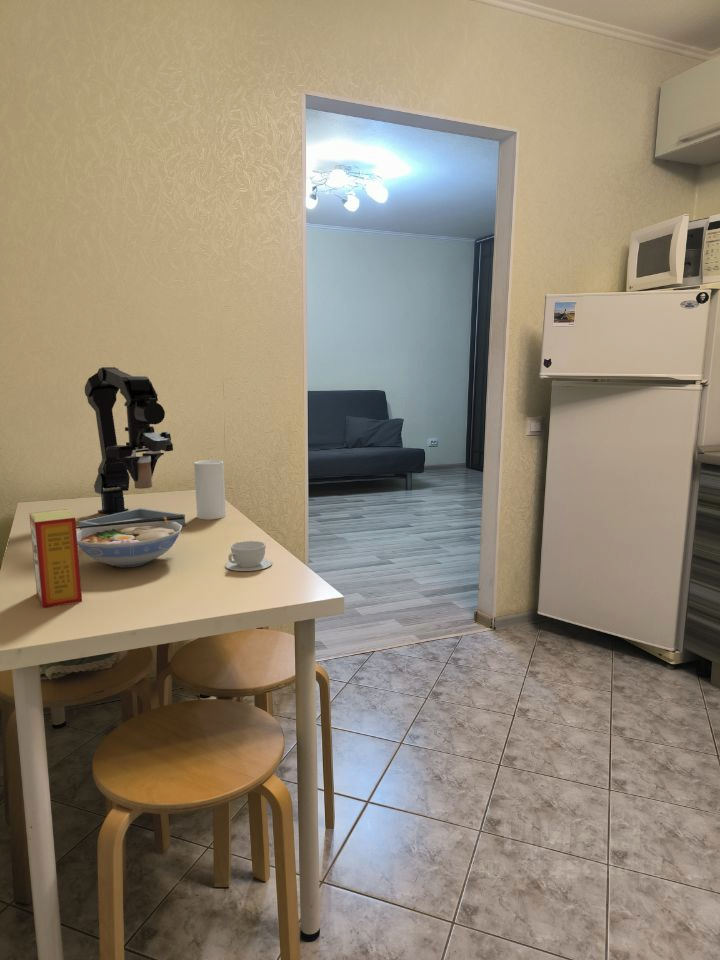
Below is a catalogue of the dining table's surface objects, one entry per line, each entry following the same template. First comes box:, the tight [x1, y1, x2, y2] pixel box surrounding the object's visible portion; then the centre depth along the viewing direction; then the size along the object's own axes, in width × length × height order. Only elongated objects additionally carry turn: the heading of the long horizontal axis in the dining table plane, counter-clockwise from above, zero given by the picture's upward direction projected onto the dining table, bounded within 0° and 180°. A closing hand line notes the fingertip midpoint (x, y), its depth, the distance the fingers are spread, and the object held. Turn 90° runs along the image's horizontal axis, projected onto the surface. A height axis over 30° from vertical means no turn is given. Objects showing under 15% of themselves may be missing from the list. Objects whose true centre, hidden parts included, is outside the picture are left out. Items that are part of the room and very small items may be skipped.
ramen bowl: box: [76, 515, 184, 568], centre depth 144 cm, size 25×23×8 cm
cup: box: [193, 459, 227, 520], centre depth 190 cm, size 8×8×16 cm
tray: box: [78, 507, 186, 530], centre depth 176 cm, size 18×20×3 cm
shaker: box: [133, 455, 153, 490], centre depth 180 cm, size 5×5×8 cm
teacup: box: [224, 540, 273, 572], centre depth 141 cm, size 10×10×5 cm
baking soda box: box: [28, 509, 83, 609], centre depth 121 cm, size 10×6×16 cm
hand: (142, 480), depth 180 cm, fingers closed on shaker, 5 cm apart
